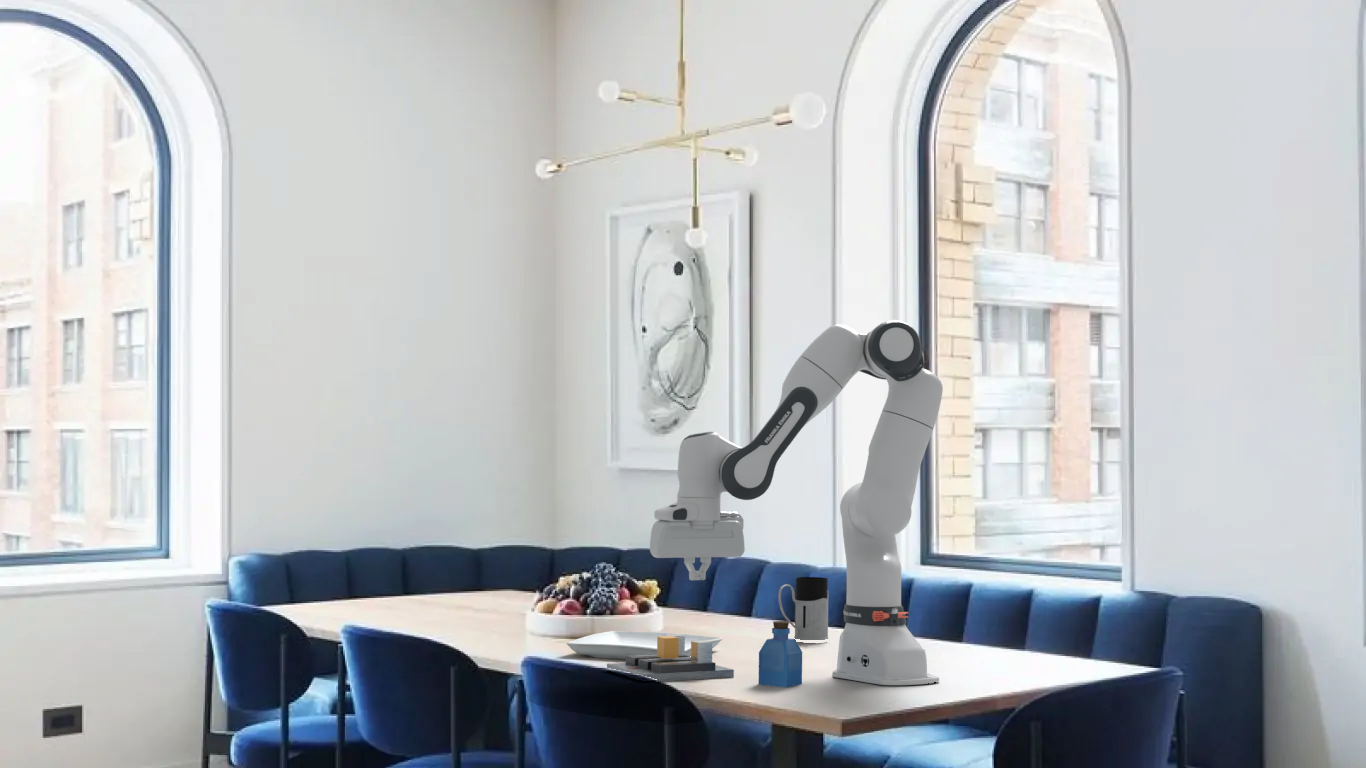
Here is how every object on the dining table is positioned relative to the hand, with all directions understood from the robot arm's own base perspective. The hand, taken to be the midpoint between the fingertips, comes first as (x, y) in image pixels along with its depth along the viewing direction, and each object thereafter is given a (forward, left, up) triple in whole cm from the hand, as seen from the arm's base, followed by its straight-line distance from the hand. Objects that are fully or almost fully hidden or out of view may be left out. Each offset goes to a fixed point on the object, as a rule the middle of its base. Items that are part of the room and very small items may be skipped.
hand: (697, 580), depth 339 cm
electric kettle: (+40, -49, -19) cm, 66 cm away
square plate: (+32, -4, -19) cm, 38 cm away
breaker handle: (0, +6, -15) cm, 17 cm away
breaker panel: (0, +6, -19) cm, 20 cm away
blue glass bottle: (-20, -8, -19) cm, 29 cm away
